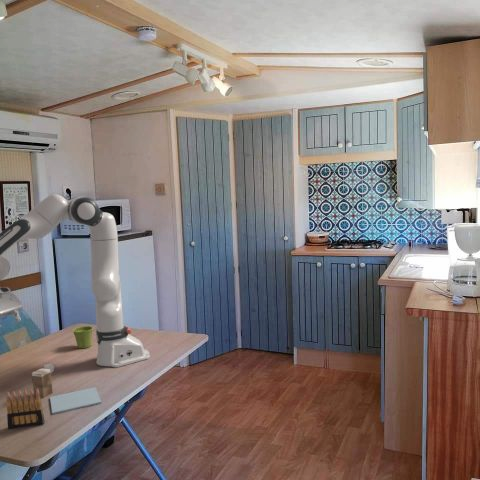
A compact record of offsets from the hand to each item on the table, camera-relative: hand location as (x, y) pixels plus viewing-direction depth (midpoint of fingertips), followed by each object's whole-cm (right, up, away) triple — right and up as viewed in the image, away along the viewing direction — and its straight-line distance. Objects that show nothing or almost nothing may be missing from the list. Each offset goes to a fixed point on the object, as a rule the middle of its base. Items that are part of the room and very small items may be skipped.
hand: (9, 325), depth 183 cm
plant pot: (+12, -19, +51) cm, 56 cm away
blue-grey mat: (+27, -25, -9) cm, 38 cm away
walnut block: (+13, -25, -2) cm, 29 cm away
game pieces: (+7, -24, +17) cm, 30 cm away
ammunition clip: (+17, -28, -25) cm, 41 cm away
